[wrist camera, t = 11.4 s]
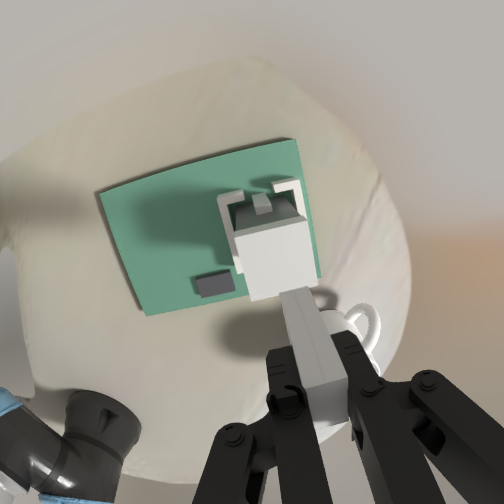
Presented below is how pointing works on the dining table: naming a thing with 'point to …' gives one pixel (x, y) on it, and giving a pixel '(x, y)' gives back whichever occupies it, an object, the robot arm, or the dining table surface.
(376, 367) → the mug
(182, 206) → the board
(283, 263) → the plug
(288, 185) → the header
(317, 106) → the dining table surface
